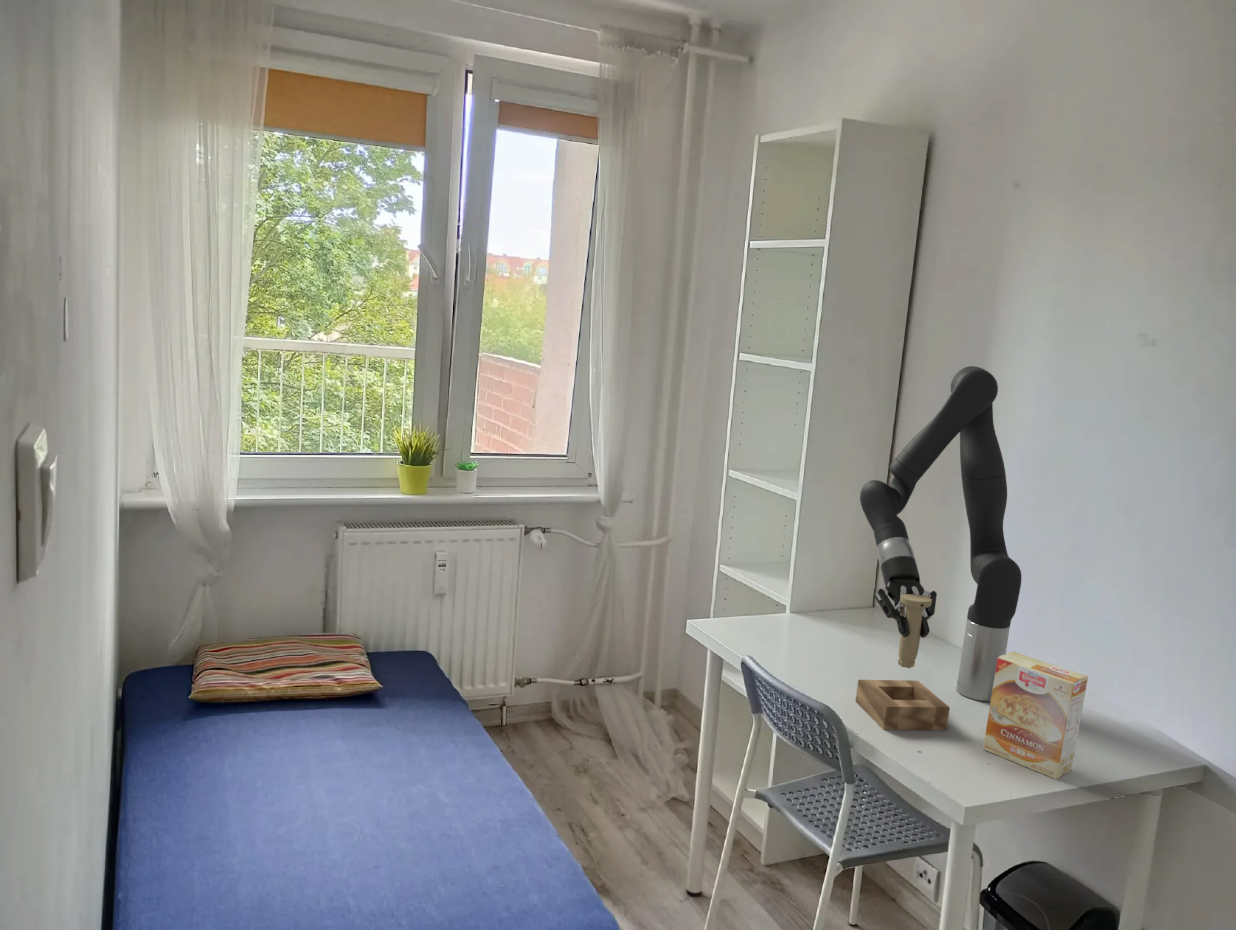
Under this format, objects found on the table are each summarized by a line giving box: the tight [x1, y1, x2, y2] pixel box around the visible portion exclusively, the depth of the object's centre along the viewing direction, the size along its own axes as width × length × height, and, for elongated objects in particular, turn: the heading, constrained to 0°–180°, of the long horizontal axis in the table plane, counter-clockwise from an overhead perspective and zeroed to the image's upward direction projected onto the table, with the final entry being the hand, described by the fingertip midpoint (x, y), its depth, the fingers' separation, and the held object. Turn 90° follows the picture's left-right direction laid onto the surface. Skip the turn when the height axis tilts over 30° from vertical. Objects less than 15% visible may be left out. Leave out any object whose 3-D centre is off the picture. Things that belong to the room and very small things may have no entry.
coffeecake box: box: [982, 651, 1089, 780], centre depth 187 cm, size 15×7×20 cm, turn 42°
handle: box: [897, 594, 932, 669], centre depth 202 cm, size 5×6×15 cm
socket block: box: [855, 679, 951, 731], centre depth 205 cm, size 14×14×5 cm
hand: (915, 635), depth 200 cm, fingers closed on handle, 3 cm apart
